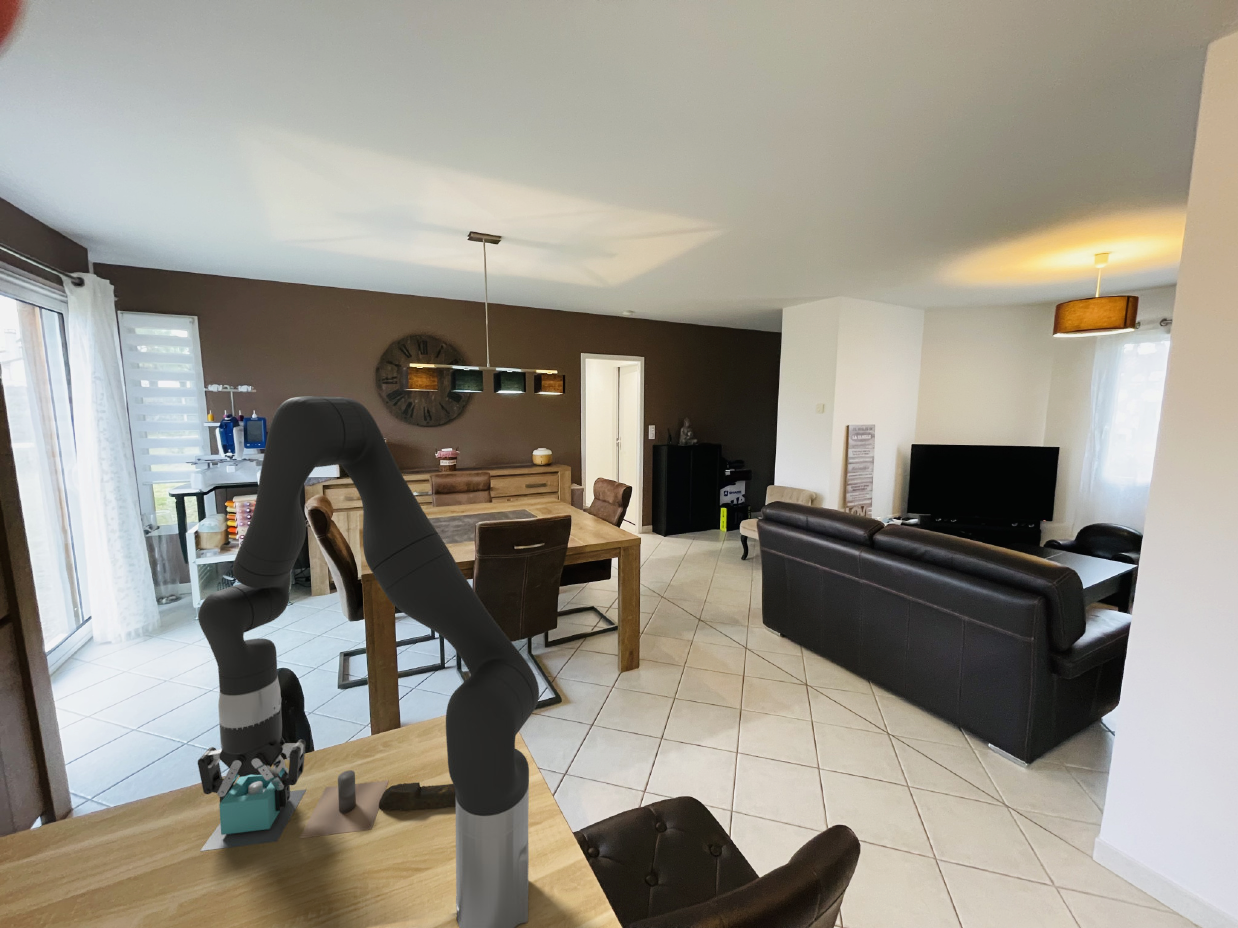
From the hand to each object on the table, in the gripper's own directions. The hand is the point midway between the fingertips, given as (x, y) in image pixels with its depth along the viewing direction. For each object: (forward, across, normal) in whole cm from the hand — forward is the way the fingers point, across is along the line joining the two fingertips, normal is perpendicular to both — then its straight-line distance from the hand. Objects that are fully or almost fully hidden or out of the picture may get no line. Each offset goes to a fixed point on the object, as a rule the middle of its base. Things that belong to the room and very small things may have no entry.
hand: (256, 809), depth 76 cm
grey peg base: (+2, 0, 0) cm, 2 cm away
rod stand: (+2, +13, 0) cm, 13 cm away
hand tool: (+3, +28, -2) cm, 28 cm away
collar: (+1, 0, 0) cm, 1 cm away
